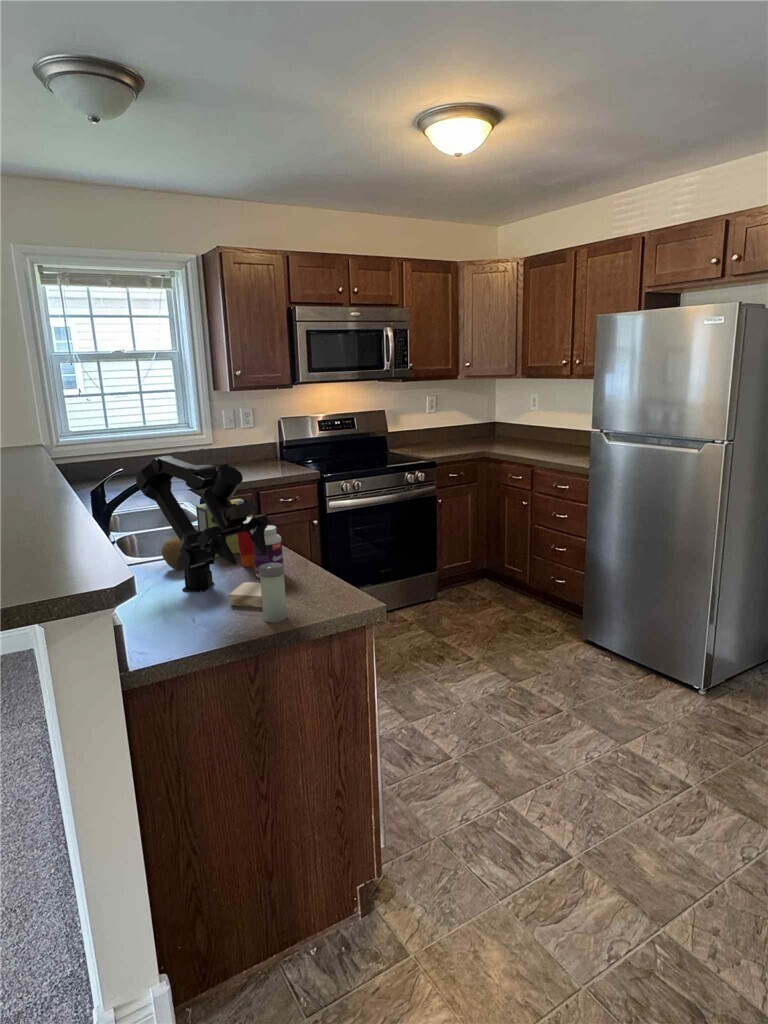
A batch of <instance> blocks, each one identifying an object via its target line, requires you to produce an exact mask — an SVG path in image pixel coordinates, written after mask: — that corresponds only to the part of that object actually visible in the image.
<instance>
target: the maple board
mask: <svg viewBox="0 0 768 1024" xmlns="http://www.w3.org/2000/svg"><path fill="white" fill-rule="evenodd" d="M228 596H229V597H228V599H229V600H228V601H229V606H232V605H236V607H247V606H252V607H251V608H262V596H261V583H260V582H248V581H244V582H243V583H241V584H240V585H239V586H237V587H236V588H235V589H233V591H232V592H230V593H229V594H228ZM253 606H254V607H253Z"/></svg>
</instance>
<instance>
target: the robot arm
mask: <svg viewBox="0 0 768 1024" xmlns="http://www.w3.org/2000/svg"><path fill="white" fill-rule="evenodd" d="M229 465H230V464H228V463H226V462H224V463H220V464H219V465H218V468H217V467H216V466H215V465H213V464H199V465H198V464H192V463H189V462H186V461H183V460H180V459H177V458H174V457H173V456H171V455H163V456H158V457H155V458H153V459H152V461H151V462H150V463H149V464H148V465H146V466H145V467H143V468H142V469H141V470H140V472H139V474H137V477H136V479H135V480H136V481H135V483H136V486H137V488H139V490H140V491H141V493H142V494H143V495H144V496H145V497H146V498H148V499H150V500H152V501H154V502H155V503H156V505H157V506H158V507H159V509H160V511H161V512H162V514H163V515H164V517H165V519H166V520H167V522H168V524H169V525H170V526H171V528H172V530H173V531H174V532H175V534H176V537H178V538H179V539H180V552H181V555H180V556H179V558H178V560H177V565H178V569H181V570H180V571H183V576H184V585H185V587H183V588H182V591H183V592H197V593H198V592H200V593H204V592H206V591H207V590H208V589H209V588H211V587H212V586H214V585H215V582H214V581H213V573H212V572H213V571H212V570H211V567H210V566H211V565H215V560H216V557H215V555H216V554H217V555H219V557H221V558H223V559H224V560H226V561H228V562H229V563H230V564H232V565H233V566H236V565H237V564H238V561H237V559H236V557H235V555H234V553H232V552H231V550H230V548H229V546H228V545H227V542H226V537H228V536H231V535H235V534H239V533H242V532H246V531H247V533H248V534H249V535H251V537H250V539H251V540H252V542H253V543H254V544H255V545H256V547H257V548H258V549H259V550H260V552H261V553H262V554H263V555H264V556H265V555H266V554H267V549H266V544H265V538H264V531H265V529H266V528H267V526H268V525H269V524H270V523H271V519H270V518H269V517H268V515H267V514H263V513H262V514H258V515H254V512H255V511H257V510H258V506H257V504H256V501H255V500H254V499H253V498H248V499H246V500H245V499H244V503H242V504H238V505H237V504H236V503H234V504H232V503H231V501H230V500H231V499H230V498H231V497H233V495H234V494H235V493H236V491H237V490H238V489H239V488H238V487H239V486H240V485H241V484H242V482H243V474H242V473H241V471H239V470H238V469H236V468H235V467H233V466H229ZM173 478H177V479H179V480H182V481H184V483H185V486H186V487H188V488H190V489H191V490H192V491H203V490H205V491H204V492H203V493H200V497H199V505H203V504H206V506H207V507H208V509H209V511H210V513H211V514H212V516H213V517H212V519H211V521H212V522H213V523H214V522H216V523H217V525H218V526H219V527H218V526H215V527H211V528H207V529H205V530H204V531H200V532H199V531H198V530H196V527H195V526H194V525H193V523H192V522H191V520H190V519H189V517H188V515H187V513H186V512H185V511H184V510H183V507H182V506H181V505H180V503H179V501H178V500H177V497H175V495H174V493H172V484H173V483H172V479H173ZM248 515H253V517H252V518H251V520H250V521H249V522H248V523H246V524H244V523H243V522H244V521H246V520H247V517H246V516H248Z"/></svg>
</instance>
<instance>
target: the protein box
mask: <svg viewBox="0 0 768 1024" xmlns="http://www.w3.org/2000/svg"><path fill="white" fill-rule="evenodd" d="M230 501H231V503H232V504H234V503H236V504H237V505H238V504H242V503H244V501H245V499H242V498H236V499H235V498H234V499H230ZM195 510H196V519H197V529H198V530H197V531H199V532H200V531H204V530H205V529H207V528H211V527H215V526H218V525H217V523H216V522H214V523H213V522H212V521H211V519H212V517H213V516H212V514H211V513H210V511H209V509H208V507H207V506H206V504H202V505H201V504H198V505H196V506H195ZM246 517H254V514H253V515H248V516H246ZM218 527H219V526H218ZM226 542H227V545H228V546H229V548H230V550H231V552H232V553H233V554H238V553H240V551H239V544H238V538H237V534H235V535H231V536H228V537H226ZM218 557H220V556H219V555H217V554H216V555H215V558H218Z"/></svg>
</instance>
